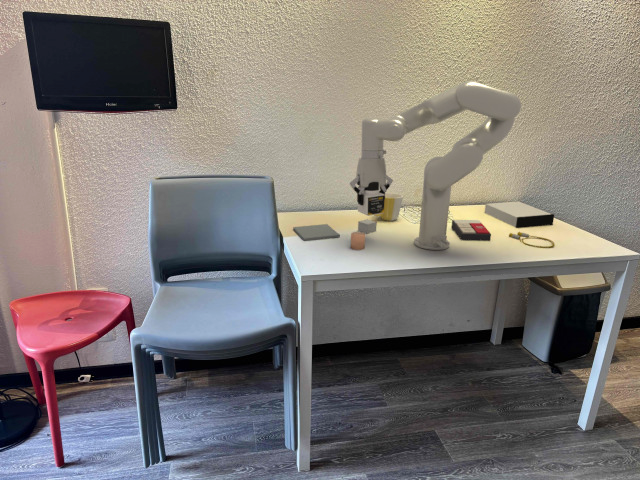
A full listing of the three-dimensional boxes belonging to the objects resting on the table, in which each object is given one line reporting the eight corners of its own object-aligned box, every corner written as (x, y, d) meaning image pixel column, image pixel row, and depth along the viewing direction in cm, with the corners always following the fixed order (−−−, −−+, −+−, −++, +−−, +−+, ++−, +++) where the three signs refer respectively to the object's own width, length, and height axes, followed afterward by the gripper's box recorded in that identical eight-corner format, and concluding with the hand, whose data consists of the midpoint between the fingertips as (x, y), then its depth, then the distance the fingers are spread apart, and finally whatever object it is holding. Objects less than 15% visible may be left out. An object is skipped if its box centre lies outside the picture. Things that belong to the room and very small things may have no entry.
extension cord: (533, 234, 193) (533, 229, 192) (561, 248, 179) (562, 243, 178) (506, 236, 190) (506, 231, 189) (532, 251, 176) (533, 245, 175)
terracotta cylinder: (367, 249, 173) (367, 235, 172) (353, 250, 172) (354, 237, 170) (361, 244, 178) (361, 231, 176) (348, 246, 176) (348, 232, 174)
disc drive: (516, 229, 199) (518, 217, 198) (483, 214, 219) (485, 203, 218) (552, 226, 204) (554, 214, 202) (517, 211, 224) (518, 200, 223)
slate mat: (339, 237, 185) (339, 234, 184) (304, 241, 180) (304, 238, 180) (326, 226, 197) (326, 224, 197) (293, 229, 192) (293, 227, 192)
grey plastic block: (376, 231, 192) (376, 222, 191) (367, 234, 189) (367, 224, 188) (366, 228, 196) (367, 219, 194) (357, 231, 193) (358, 221, 191)
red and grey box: (462, 232, 183) (452, 218, 197) (460, 242, 184) (450, 228, 198) (491, 232, 183) (479, 218, 197) (490, 243, 184) (478, 228, 198)
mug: (394, 214, 214) (395, 191, 211) (405, 221, 205) (407, 197, 202) (365, 217, 210) (366, 193, 206) (375, 224, 201) (377, 199, 197)
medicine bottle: (367, 216, 175) (368, 183, 171) (357, 211, 181) (357, 179, 177) (384, 213, 178) (385, 180, 174) (373, 208, 184) (374, 177, 180)
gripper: (389, 151, 179) (387, 198, 184) (345, 154, 173) (344, 203, 179) (399, 154, 172) (397, 203, 178) (353, 157, 166) (352, 208, 172)
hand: (371, 203), depth 178 cm, fingers closed on medicine bottle, 7 cm apart
